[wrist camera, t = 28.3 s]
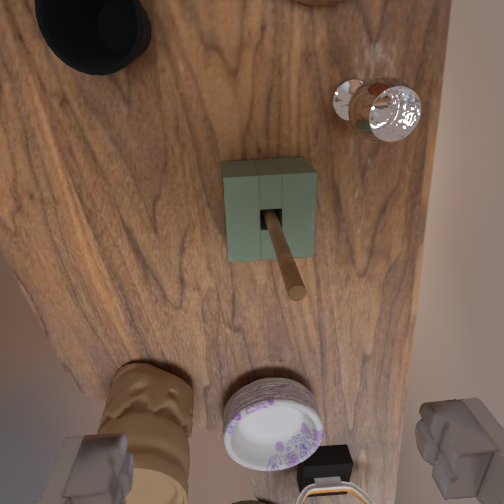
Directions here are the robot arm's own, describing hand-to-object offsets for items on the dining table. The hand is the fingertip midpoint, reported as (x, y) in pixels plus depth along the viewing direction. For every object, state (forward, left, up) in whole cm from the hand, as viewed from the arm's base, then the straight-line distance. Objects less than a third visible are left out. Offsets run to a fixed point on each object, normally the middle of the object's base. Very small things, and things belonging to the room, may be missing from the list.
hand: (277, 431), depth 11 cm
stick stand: (-4, +7, -39) cm, 40 cm away
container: (+14, +37, -39) cm, 56 cm away
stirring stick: (-4, +7, -39) cm, 40 cm away
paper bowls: (-4, +42, -39) cm, 58 cm away
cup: (+10, -12, -39) cm, 42 cm away
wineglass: (-14, -4, -39) cm, 42 cm away
